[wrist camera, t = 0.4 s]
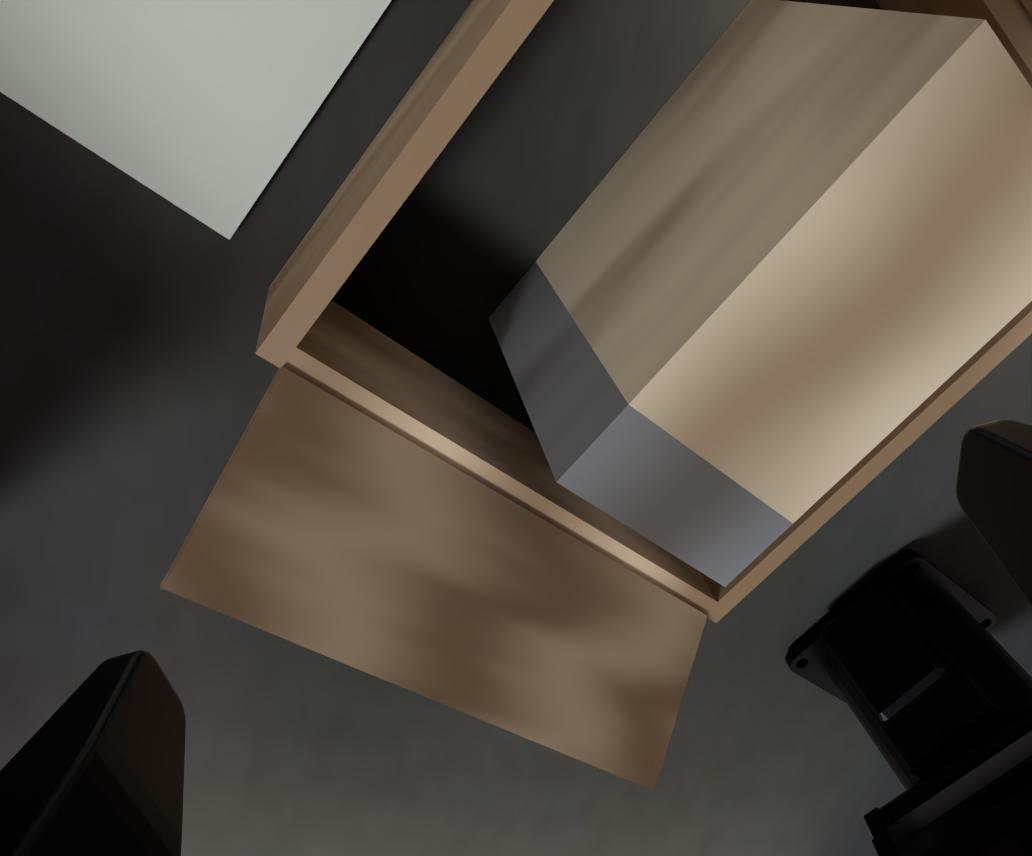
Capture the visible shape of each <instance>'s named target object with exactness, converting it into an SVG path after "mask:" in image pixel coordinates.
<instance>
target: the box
mask: <svg viewBox="0 0 1032 856" xmlns="http://www.w3.org/2000/svg"><path fill="white" fill-rule="evenodd" d="M1031 301H1032V88H1031V86H1030V85H1029V83H1028V82H1027V80H1026V79H1025V77H1024V76H1023V74H1022V73H1021V71H1020V70H1019V69H1018V67H1017V66H1016V64H1015V63H1014V61H1013V60H1012V58H1011V57H1010V55H1009V54H1008V52H1007V51H1006V49H1005V48H1004V46H1003V45H1002V43H1001V42H1000V40H999V39H998V37H997V36H996V34H995V33H994V31H993V30H992V28H991V27H990V25H989V24H988V22H987V21H986V20H985V19H974V18H964V17H953V16H942V15H932V14H921V13H910V12H900V11H889V10H879V9H868V8H857V7H847V6H836V5H825V4H815V3H804V2H793V1H783V0H750V1H749V3H748V4H747V5H746V6H745V7H744V9H743V10H742V11H741V12H740V14H739V15H738V16H737V17H736V18H735V20H734V21H733V22H732V23H731V24H730V26H729V27H728V28H727V29H726V31H725V32H724V33H723V34H722V35H721V37H720V38H719V39H718V40H717V41H716V43H715V44H714V45H713V46H712V48H711V49H710V50H709V51H708V52H707V54H706V55H705V56H704V57H703V58H702V60H701V61H700V62H699V63H698V65H697V66H696V67H695V68H694V69H693V71H692V72H691V73H690V74H689V75H688V77H687V78H686V79H685V80H684V82H683V83H682V84H681V85H680V86H679V88H678V89H677V90H676V91H675V92H674V94H673V95H672V96H671V97H670V99H669V100H668V101H667V102H666V103H665V105H664V106H663V107H662V108H661V109H660V111H659V112H658V113H657V114H656V116H655V117H654V118H653V119H652V120H651V122H650V123H649V124H648V125H647V126H646V128H645V129H644V130H643V131H642V133H641V134H640V135H639V136H638V137H637V139H636V140H635V141H634V142H633V143H632V145H631V146H630V147H629V148H628V150H627V151H626V152H625V153H624V154H623V156H622V157H621V158H620V159H619V160H618V162H617V163H616V164H615V165H614V166H613V168H612V169H611V170H610V171H609V173H608V174H607V175H606V176H605V177H604V179H603V180H602V181H601V182H600V183H599V185H598V186H597V187H596V188H595V190H594V191H593V192H592V193H591V194H590V196H589V197H588V198H587V199H586V200H585V202H584V203H583V204H582V205H581V207H580V208H579V209H578V210H577V211H576V213H575V214H574V215H573V216H572V217H571V219H570V220H569V221H568V222H567V224H566V225H565V226H564V227H563V228H562V230H561V231H560V232H559V233H558V234H557V236H556V237H555V238H554V239H553V241H552V242H551V243H550V244H549V245H548V247H547V248H546V249H545V250H544V251H543V253H542V254H541V255H540V256H539V258H538V259H537V260H536V261H535V262H534V264H533V265H532V266H531V267H530V268H529V270H528V271H527V272H526V273H525V275H524V276H523V277H522V278H521V279H520V281H519V282H518V283H517V284H516V285H515V287H514V288H513V289H512V290H511V292H510V293H509V294H508V295H507V296H506V298H505V299H504V300H503V301H502V302H501V304H500V305H499V306H498V307H497V309H496V310H495V311H494V312H493V313H492V315H491V316H490V317H489V318H488V319H489V321H490V323H491V326H492V328H493V331H494V333H495V335H496V338H497V340H498V343H499V345H500V348H501V350H502V352H503V355H504V357H505V360H506V362H507V364H508V367H509V369H510V372H511V374H512V376H513V379H514V381H515V384H516V386H517V389H518V391H519V393H520V396H521V398H522V401H523V403H524V405H525V408H526V410H527V413H528V415H529V417H530V420H531V422H532V425H533V427H534V430H535V432H536V434H537V437H538V439H539V442H540V444H541V446H542V449H543V451H544V454H545V456H546V458H547V461H548V463H549V466H550V468H551V470H552V473H553V475H554V478H555V480H556V482H557V483H558V484H560V485H562V486H563V487H565V488H566V489H568V490H570V491H571V492H573V493H574V494H576V495H578V496H579V497H581V498H583V499H584V500H586V501H587V502H589V503H591V504H592V505H594V506H595V507H597V508H599V509H600V510H602V511H603V512H605V513H607V514H608V515H610V516H611V517H613V518H615V519H616V520H618V521H619V522H621V523H623V524H624V525H626V526H628V527H629V528H631V529H632V530H634V531H636V532H637V533H639V534H640V535H642V536H644V537H645V538H647V539H648V540H650V541H652V542H653V543H655V544H656V545H658V546H660V547H661V548H663V549H664V550H666V551H668V552H669V553H671V554H673V555H674V556H676V557H677V558H679V559H681V560H682V561H684V562H685V563H687V564H689V565H690V566H692V567H693V568H695V569H697V570H698V571H700V572H701V573H703V574H705V575H706V576H708V577H709V578H711V579H713V580H714V581H716V582H718V583H719V584H721V585H722V586H724V587H726V586H727V585H728V584H729V583H730V582H731V581H732V580H733V579H734V578H735V577H736V576H738V575H739V574H740V573H741V572H742V571H743V570H744V569H745V568H746V567H747V566H748V565H749V564H750V563H751V562H753V561H754V560H755V559H756V558H757V557H758V556H759V555H760V554H761V553H762V552H763V551H764V550H765V549H766V548H768V547H769V546H770V545H771V544H772V543H773V542H774V541H775V540H776V539H777V538H778V537H779V536H780V535H781V534H782V533H784V532H785V531H786V530H787V529H788V528H789V527H790V526H791V525H792V524H793V523H794V522H795V521H796V520H797V519H799V518H800V517H801V516H802V515H803V514H804V513H805V512H806V511H807V510H808V509H809V508H810V507H811V506H812V505H814V504H815V503H816V502H817V501H818V500H819V499H820V498H821V497H822V496H823V495H824V494H825V493H826V492H827V491H829V490H830V489H831V488H832V487H833V486H834V485H835V484H836V483H837V482H838V481H839V480H840V479H841V478H842V477H844V476H845V475H846V474H847V473H848V472H849V471H850V470H851V469H852V468H853V467H854V466H855V465H856V464H857V463H859V462H860V461H861V460H862V459H863V458H864V457H865V456H866V455H867V454H868V453H869V452H870V451H871V450H872V449H874V448H875V447H876V446H877V445H878V444H879V443H880V442H881V441H882V440H883V439H884V438H885V437H886V436H887V435H889V434H890V433H891V432H892V431H893V430H894V429H895V428H896V427H897V426H898V425H899V424H900V423H901V422H902V421H904V420H905V419H906V418H907V417H908V416H909V415H910V414H911V413H912V412H913V411H914V410H915V409H916V408H917V407H919V406H920V405H921V404H922V403H923V402H924V401H925V400H926V399H927V398H928V397H929V396H930V395H931V394H932V393H934V392H935V391H936V390H937V389H938V388H939V387H940V386H941V385H942V384H943V383H944V382H945V381H946V380H947V379H949V378H950V377H951V376H952V375H953V374H954V373H955V372H956V371H957V370H958V369H959V368H960V367H961V366H962V365H964V364H965V363H966V362H967V361H968V360H969V359H970V358H971V357H972V356H973V355H974V354H975V353H976V352H977V351H979V350H980V349H981V348H982V347H983V346H984V345H985V344H986V343H987V342H988V341H989V340H990V339H991V338H992V337H994V336H995V335H996V334H997V333H998V332H999V331H1000V330H1001V329H1002V328H1003V327H1004V326H1005V325H1006V324H1007V323H1009V322H1010V321H1011V320H1012V319H1013V318H1014V317H1015V316H1016V315H1017V314H1018V313H1019V312H1020V311H1021V310H1022V309H1024V308H1025V307H1026V306H1027V305H1028V304H1029V303H1030V302H1031Z"/></svg>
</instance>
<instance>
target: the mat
mask: <svg viewBox="0 0 1032 856" xmlns="http://www.w3.org/2000/svg"><path fill="white" fill-rule="evenodd" d="M390 2H391V0H0V92H1V93H3V94H4V95H6V96H7V97H9V98H10V99H12V100H14V101H15V102H17V103H18V104H20V105H21V106H23V107H24V108H26V109H27V110H29V111H31V112H32V113H34V114H35V115H37V116H38V117H40V118H41V119H43V120H44V121H46V122H48V123H49V124H51V125H52V126H54V127H55V128H57V129H58V130H60V131H62V132H63V133H65V134H66V135H68V136H69V137H71V138H72V139H74V140H75V141H77V142H79V143H80V144H82V145H83V146H85V147H86V148H88V149H89V150H91V151H92V152H94V153H96V154H97V155H99V156H100V157H102V158H103V159H105V160H106V161H108V162H109V163H111V164H113V165H114V166H116V167H117V168H119V169H120V170H122V171H123V172H125V173H126V174H128V175H130V176H131V177H133V178H134V179H136V180H137V181H139V182H140V183H142V184H144V185H145V186H147V187H148V188H150V189H151V190H153V191H154V192H156V193H157V194H159V195H161V196H162V197H164V198H165V199H167V200H168V201H170V202H171V203H173V204H174V205H176V206H178V207H179V208H181V209H182V210H184V211H185V212H187V213H188V214H190V215H191V216H193V217H195V218H196V219H198V220H199V221H201V222H202V223H204V224H205V225H207V226H209V227H210V228H212V229H213V230H215V231H216V232H218V233H219V234H221V235H222V236H224V237H226V238H227V239H229V240H230V238H231V237H232V235H233V234H234V232H235V231H236V229H237V228H238V226H239V225H240V224H241V222H242V221H243V219H244V218H245V216H246V215H247V213H248V212H249V210H250V209H251V207H252V206H253V204H254V203H255V201H256V200H257V198H258V197H259V195H260V194H261V192H262V191H263V190H264V188H265V187H266V185H267V184H268V182H269V181H270V179H271V178H272V176H273V175H274V173H275V172H276V170H277V169H278V167H279V166H280V164H281V163H282V161H283V160H284V158H285V157H286V156H287V154H288V153H289V151H290V150H291V148H292V147H293V145H294V144H295V142H296V141H297V139H298V138H299V136H300V135H301V133H302V132H303V130H304V129H305V127H306V126H307V125H308V123H309V122H310V120H311V119H312V117H313V116H314V114H315V113H316V111H317V110H318V108H319V107H320V105H321V104H322V102H323V101H324V99H325V98H326V96H327V95H328V93H329V92H330V91H331V89H332V88H333V86H334V85H335V83H336V82H337V80H338V79H339V77H340V76H341V74H342V73H343V71H344V70H345V68H346V67H347V65H348V64H349V62H350V61H351V59H352V58H353V57H354V55H355V54H356V52H357V51H358V49H359V48H360V46H361V45H362V43H363V42H364V40H365V39H366V37H367V36H368V34H369V33H370V31H371V30H372V28H373V27H374V26H375V24H376V23H377V21H378V20H379V18H380V17H381V15H382V14H383V12H384V11H385V9H386V8H387V6H388V5H389V3H390Z"/></svg>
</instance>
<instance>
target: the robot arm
mask: <svg viewBox="0 0 1032 856" xmlns="http://www.w3.org/2000/svg"><path fill="white" fill-rule="evenodd" d="M956 495H957V499H958V502H959V504H960V506H961V508H962V510H963V511H964V513H965V514H966V516H967V517H968V519H969V520H970V521H971V523H972V524H973V525H974V527H975V528H976V530H977V531H978V532H979V534H980V535H981V537H982V538H983V539H984V541H985V542H986V544H987V545H988V546H989V548H990V549H991V551H992V552H993V553H994V555H995V556H996V557H997V559H998V560H999V562H1000V563H1001V564H1002V566H1003V567H1004V569H1005V570H1006V571H1007V573H1008V574H1009V576H1010V577H1011V578H1012V580H1013V581H1014V583H1015V584H1016V585H1017V587H1018V588H1019V589H1020V591H1021V592H1022V594H1023V595H1024V596H1025V598H1026V599H1027V601H1028V602H1029V603H1030V605H1031V606H1032V425H1029V424H1025V423H1021V422H1017V421H1013V420H1008V419H1000V420H995V421H991V422H988V423H984V424H980V425H977V426H973V427H971V428H969V429H968V430H966V432H965V433H964V435H963V436H962V440H961V447H960V456H959V464H958V472H957V480H956ZM996 622H997V617H996V616H995V615H994V614H993V613H992V612H991V611H990V610H989V609H988V608H987V607H986V606H985V605H983V604H982V603H981V602H980V601H978V600H977V599H976V598H974V597H973V596H972V595H971V594H969V593H968V592H967V591H966V590H964V589H963V588H962V587H961V586H959V585H958V584H957V583H955V582H954V581H953V580H952V579H950V578H949V577H948V576H947V575H945V574H944V573H943V572H942V571H940V570H939V569H938V568H937V567H935V566H934V565H933V564H931V563H930V562H929V561H928V560H926V559H925V558H924V557H923V556H921V555H920V554H919V553H918V552H916V551H907V552H904V553H902V554H901V555H899V556H898V557H897V558H896V559H895V560H894V561H892V562H891V563H890V564H889V565H888V566H887V567H886V568H884V569H883V570H882V571H881V572H880V573H879V574H878V575H876V576H875V577H874V578H873V579H872V580H871V581H869V582H868V583H867V584H866V585H865V586H864V587H863V588H861V589H860V590H859V591H858V592H857V593H856V594H855V595H853V596H852V597H851V598H850V599H849V600H848V601H847V602H845V603H844V604H843V605H842V606H841V607H840V608H839V609H837V610H836V611H835V612H834V613H833V614H832V615H831V616H829V617H828V618H827V619H826V620H825V621H824V622H822V623H821V624H820V625H819V626H818V627H817V628H816V629H814V630H813V631H812V632H811V633H810V634H809V635H808V636H806V637H805V638H804V639H803V640H802V641H801V642H800V643H798V644H797V645H796V646H795V647H794V648H793V649H792V650H790V651H789V652H788V654H787V655H786V658H785V661H786V663H787V664H788V666H789V668H790V669H791V670H792V671H793V672H794V673H796V674H798V675H799V676H801V677H803V678H805V679H806V680H808V681H810V682H811V683H813V684H815V685H817V686H818V687H820V688H822V689H824V690H825V691H827V692H829V693H830V694H832V695H834V696H836V697H837V698H839V699H841V700H842V701H844V702H846V703H847V704H848V705H849V707H850V708H851V709H852V711H853V712H854V714H855V715H856V717H857V718H858V720H859V721H860V723H861V724H862V726H863V727H864V729H865V730H866V731H867V733H868V734H869V736H870V737H871V739H872V740H873V742H874V743H875V745H876V746H877V748H878V749H879V751H880V752H881V753H882V755H883V756H884V758H885V759H886V761H887V762H888V764H889V765H890V767H891V768H892V770H893V771H894V773H895V774H896V775H897V777H898V778H899V780H900V781H901V783H902V784H903V786H904V787H905V789H906V791H905V792H903V793H902V794H900V795H899V796H897V797H896V798H894V799H893V800H892V801H890V802H889V803H887V804H886V805H884V806H883V807H881V808H880V809H879V808H877V807H876V808H874V809H873V810H871V811H870V812H868V813H867V814H866V815H864V819H865V821H866V823H867V825H868V827H869V829H870V831H871V833H872V835H873V837H874V839H872V842H873V845H874V847H875V849H876V851H877V853H878V855H879V856H1032V677H1031V676H1030V675H1029V674H1028V673H1027V672H1026V671H1025V670H1024V669H1023V668H1022V667H1021V666H1020V665H1019V664H1018V663H1017V662H1016V661H1015V659H1014V658H1013V657H1012V656H1011V655H1010V654H1009V653H1008V652H1007V651H1006V650H1005V649H1004V648H1003V647H1002V646H1001V645H1000V644H999V643H998V642H997V641H996V640H995V639H994V638H993V637H992V636H991V635H990V634H989V632H988V631H989V630H990V629H991V628H992V627H993V626H994V625H995V624H996ZM185 726H186V722H185V713H184V708H183V705H182V702H181V700H180V698H179V697H178V695H177V693H176V692H175V690H174V688H173V687H172V685H171V684H170V682H169V680H168V679H167V677H166V676H165V674H164V672H163V671H162V669H161V667H160V666H159V664H158V663H157V661H156V659H155V658H154V657H153V656H152V655H151V654H150V653H149V652H147V651H135V652H132V653H128V654H124V655H120V656H117V657H113V658H110V659H108V660H106V661H104V662H103V663H101V664H100V665H99V666H98V667H97V668H96V669H95V671H94V672H93V673H92V674H91V675H90V676H89V677H88V678H87V679H86V680H85V681H84V682H83V683H82V684H81V685H80V687H79V688H78V689H77V690H76V691H75V692H74V693H73V694H72V695H71V696H70V697H69V698H68V699H67V700H66V701H65V703H64V704H63V705H62V706H61V707H60V708H59V709H58V710H57V711H56V712H55V713H54V714H53V715H52V716H51V717H50V718H49V720H48V721H47V722H46V723H45V724H44V725H43V726H42V727H41V728H40V729H39V730H38V731H37V732H36V733H35V734H34V736H33V737H32V738H31V739H30V740H29V741H28V742H27V743H26V744H25V745H24V746H23V747H22V748H21V749H20V750H19V752H18V753H17V754H16V755H15V756H14V757H13V758H12V759H11V760H10V761H9V762H8V763H7V764H6V765H5V766H4V768H3V769H2V770H1V771H0V856H181V843H182V815H183V786H184V756H185Z"/></svg>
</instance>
